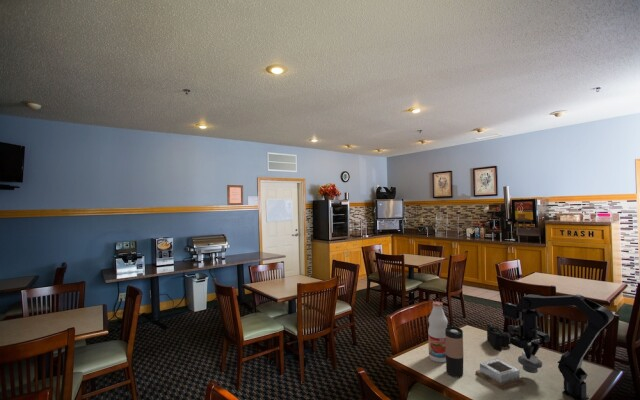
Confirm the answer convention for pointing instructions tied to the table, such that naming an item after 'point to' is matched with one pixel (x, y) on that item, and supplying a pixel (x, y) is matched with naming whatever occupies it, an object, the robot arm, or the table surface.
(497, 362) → the hollow square frame
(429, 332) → the fruit juice
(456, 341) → the travel mug
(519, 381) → the walnut plate
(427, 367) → the table surface
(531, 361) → the grey disc with handle
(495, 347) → the camera
